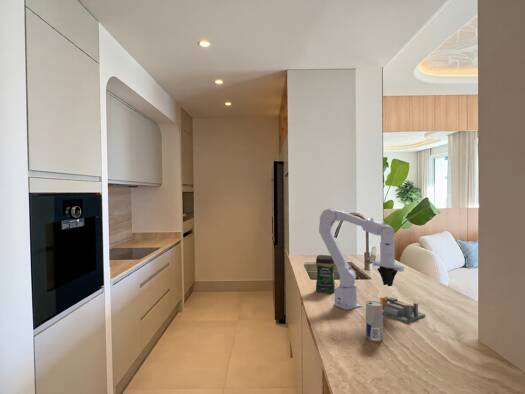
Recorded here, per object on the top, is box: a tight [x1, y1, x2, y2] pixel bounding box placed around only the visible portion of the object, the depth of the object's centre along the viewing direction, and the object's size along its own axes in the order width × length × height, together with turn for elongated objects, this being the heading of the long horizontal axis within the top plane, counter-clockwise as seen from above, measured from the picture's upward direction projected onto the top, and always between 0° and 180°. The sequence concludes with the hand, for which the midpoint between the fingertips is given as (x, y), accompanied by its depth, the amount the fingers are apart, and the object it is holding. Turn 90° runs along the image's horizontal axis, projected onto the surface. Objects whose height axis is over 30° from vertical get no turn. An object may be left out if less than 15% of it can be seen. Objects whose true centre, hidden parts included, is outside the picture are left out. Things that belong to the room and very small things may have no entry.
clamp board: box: [379, 295, 426, 324], centre depth 131 cm, size 12×16×6 cm
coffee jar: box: [315, 254, 336, 294], centre depth 163 cm, size 10×8×19 cm
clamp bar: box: [384, 297, 415, 309], centre depth 130 cm, size 13×3×1 cm, turn 30°
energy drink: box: [365, 300, 384, 343], centre depth 108 cm, size 5×5×12 cm
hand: (387, 285), depth 135 cm, fingers closed
